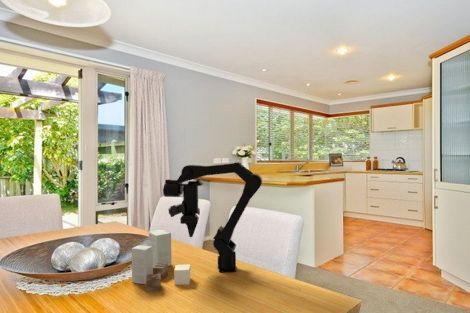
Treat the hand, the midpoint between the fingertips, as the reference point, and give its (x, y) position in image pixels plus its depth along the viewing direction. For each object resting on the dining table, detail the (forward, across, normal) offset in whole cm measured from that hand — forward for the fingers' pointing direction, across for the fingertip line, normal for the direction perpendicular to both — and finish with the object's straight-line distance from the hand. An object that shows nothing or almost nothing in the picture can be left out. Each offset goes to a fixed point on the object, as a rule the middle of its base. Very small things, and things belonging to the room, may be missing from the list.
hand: (191, 236), depth 118 cm
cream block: (+12, +13, -2) cm, 18 cm away
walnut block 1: (+12, +8, -11) cm, 18 cm away
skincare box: (+12, +12, -16) cm, 23 cm away
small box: (+12, -4, -13) cm, 18 cm away
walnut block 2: (+12, +18, -11) cm, 24 cm away
